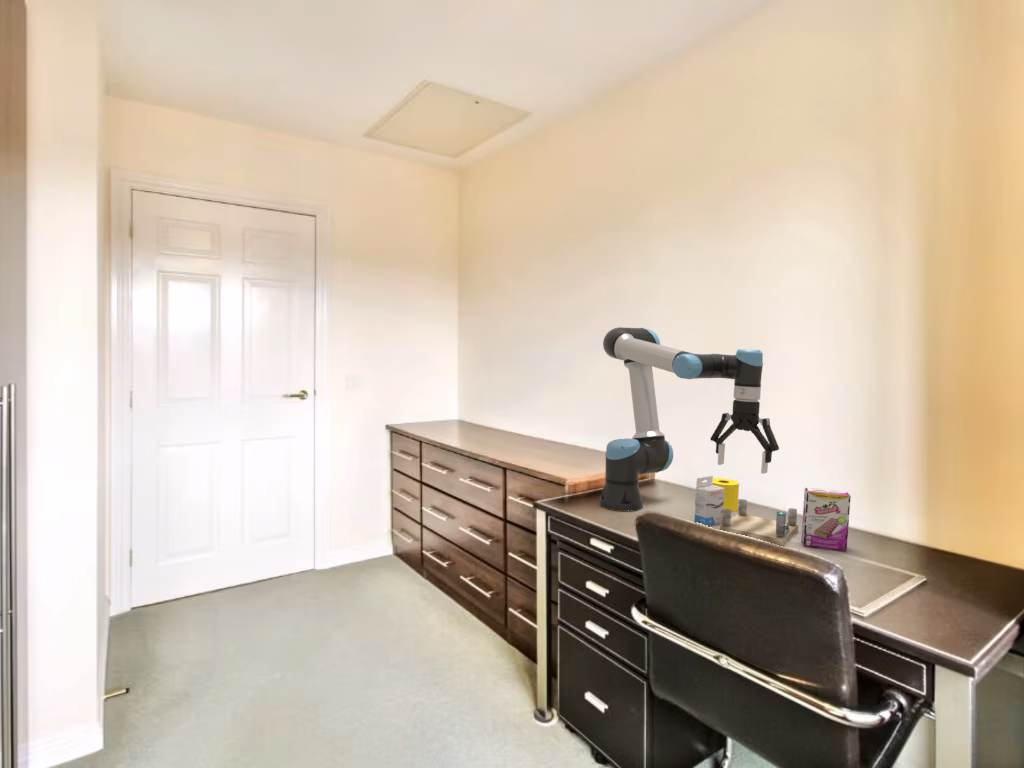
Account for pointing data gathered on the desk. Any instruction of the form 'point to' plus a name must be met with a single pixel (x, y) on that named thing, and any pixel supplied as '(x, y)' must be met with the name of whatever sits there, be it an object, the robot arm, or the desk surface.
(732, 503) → the yellow paper roll
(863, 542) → the desk surface
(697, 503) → the ink box
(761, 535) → the peg board
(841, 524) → the candy bar box
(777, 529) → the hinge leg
